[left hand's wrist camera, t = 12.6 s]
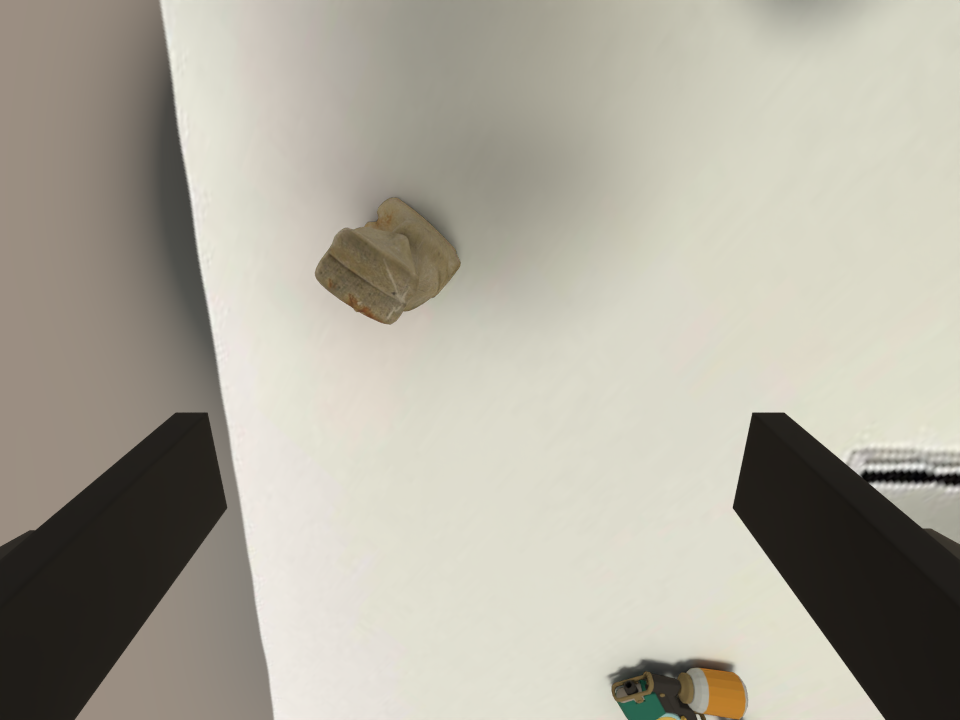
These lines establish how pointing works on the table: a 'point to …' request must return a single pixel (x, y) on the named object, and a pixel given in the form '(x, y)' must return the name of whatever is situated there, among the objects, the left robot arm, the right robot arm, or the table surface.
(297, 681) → the table surface
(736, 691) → the spray gun
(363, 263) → the sculpture
